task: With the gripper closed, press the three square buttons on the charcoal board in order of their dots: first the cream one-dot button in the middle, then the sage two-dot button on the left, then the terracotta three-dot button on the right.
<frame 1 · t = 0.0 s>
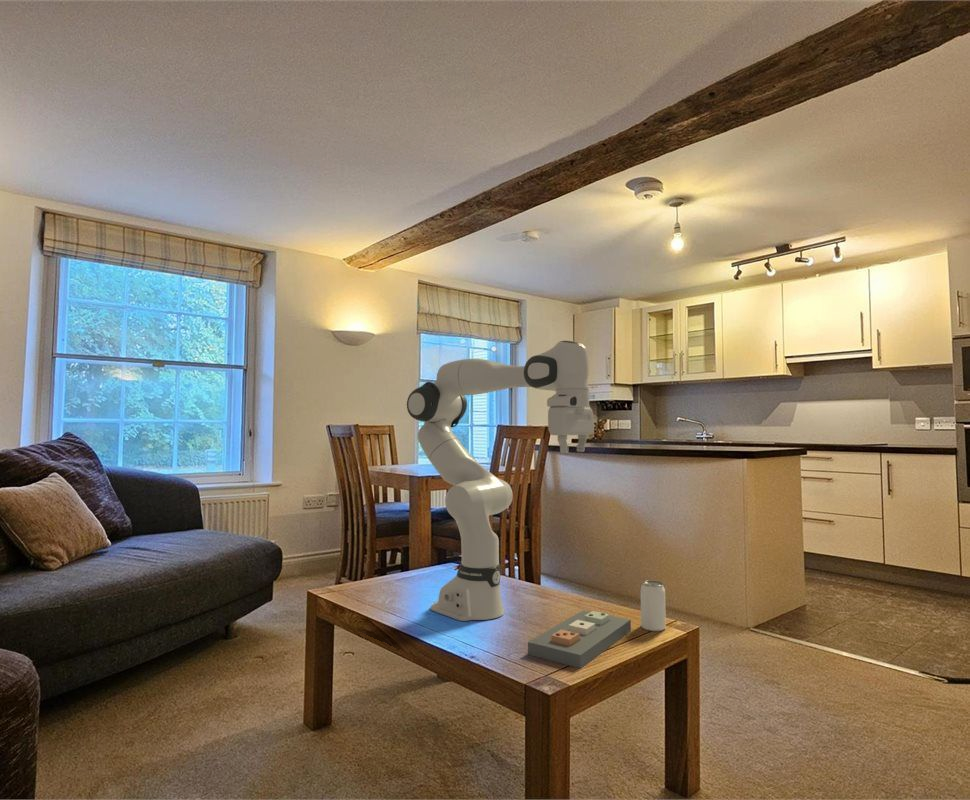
hand: (572, 452, 158), 48 cm above the table, tool pointing down, fingers open, 8 cm apart
one dot button: (582, 629, 150), point 3 cm above the table, slide at 0.0 cm
button board: (582, 642, 150), on the table
three dot button: (565, 640, 142), point 3 cm above the table, slide at 0.0 cm
can: (653, 628, 160), on the table
two dot button: (597, 620, 157), point 3 cm above the table, slide at 0.0 cm
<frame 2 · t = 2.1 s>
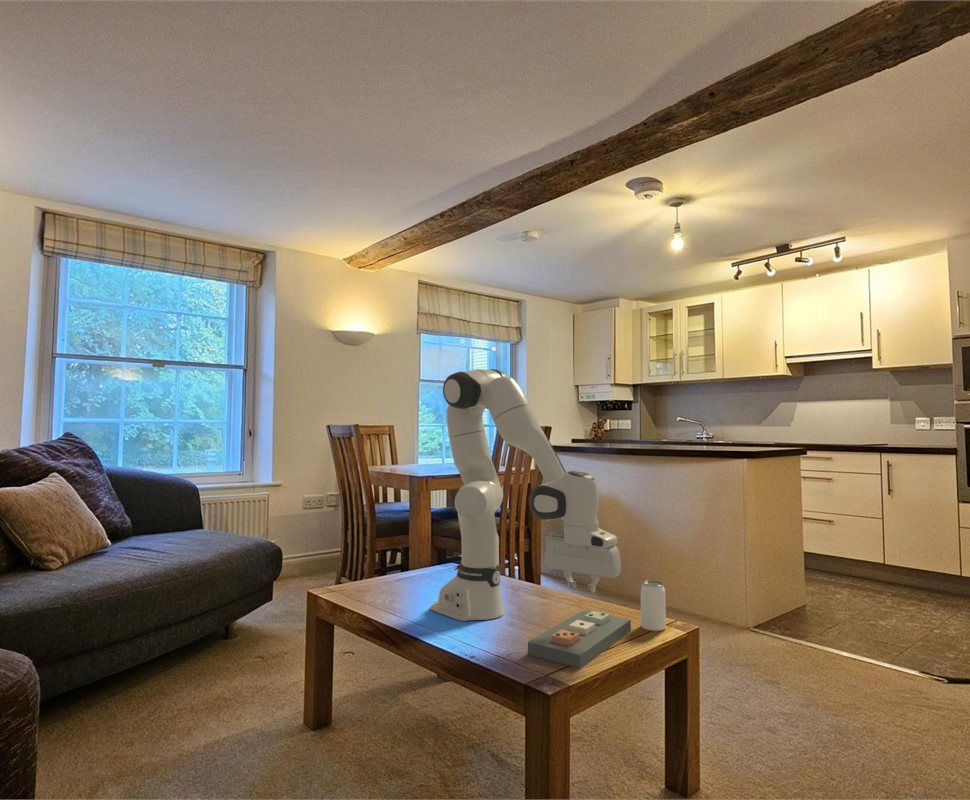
hand: (581, 589, 150), 13 cm above the table, tool pointing down, fingers open, 4 cm apart
nothing on the table moved.
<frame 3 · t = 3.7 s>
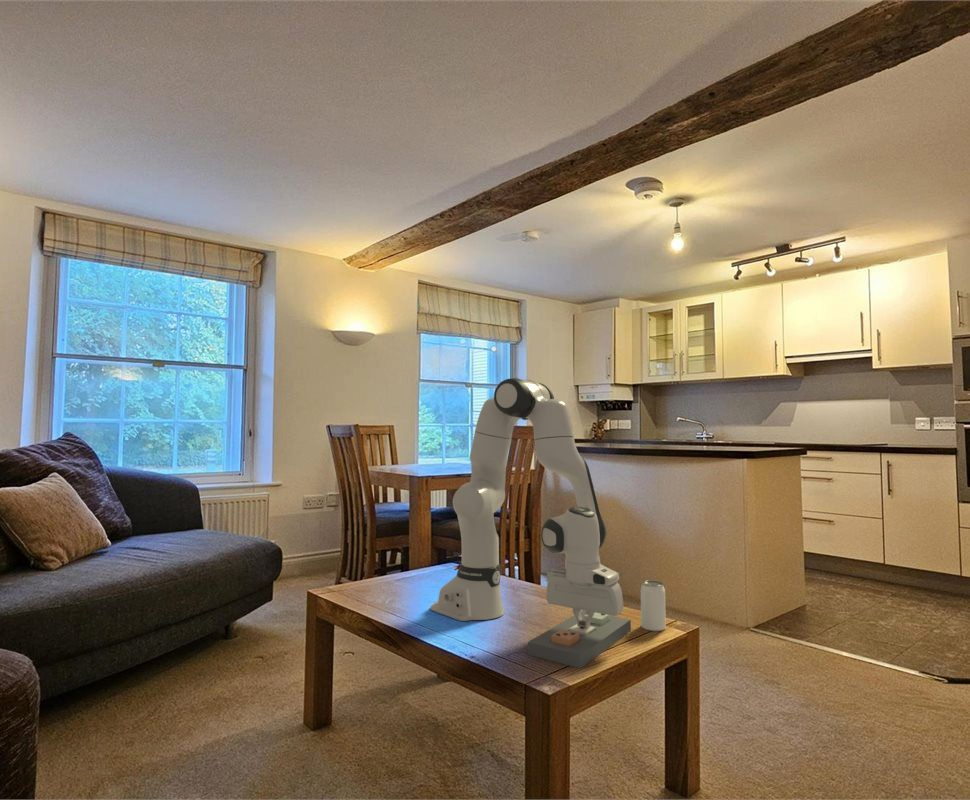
hand: (583, 626, 150), 4 cm above the table, tool pointing down, fingers closed, pressing on one dot button
one dot button: (582, 633, 150), point 2 cm above the table, slide at 1.0 cm, touching gripper
everything else where it was.
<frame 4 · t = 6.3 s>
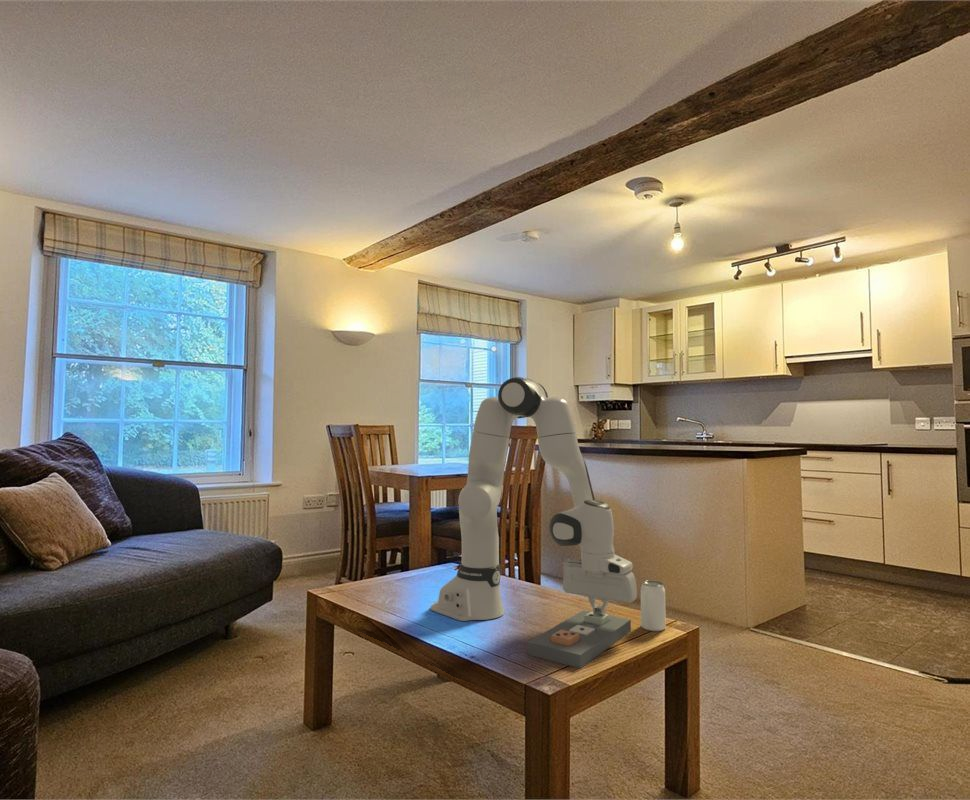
hand: (599, 613, 157), 5 cm above the table, tool pointing down, fingers closed
one dot button: (582, 635, 150), point 2 cm above the table, slide at 1.3 cm
two dot button: (597, 620, 157), point 3 cm above the table, slide at 0.0 cm, touching gripper
everything else where it was.
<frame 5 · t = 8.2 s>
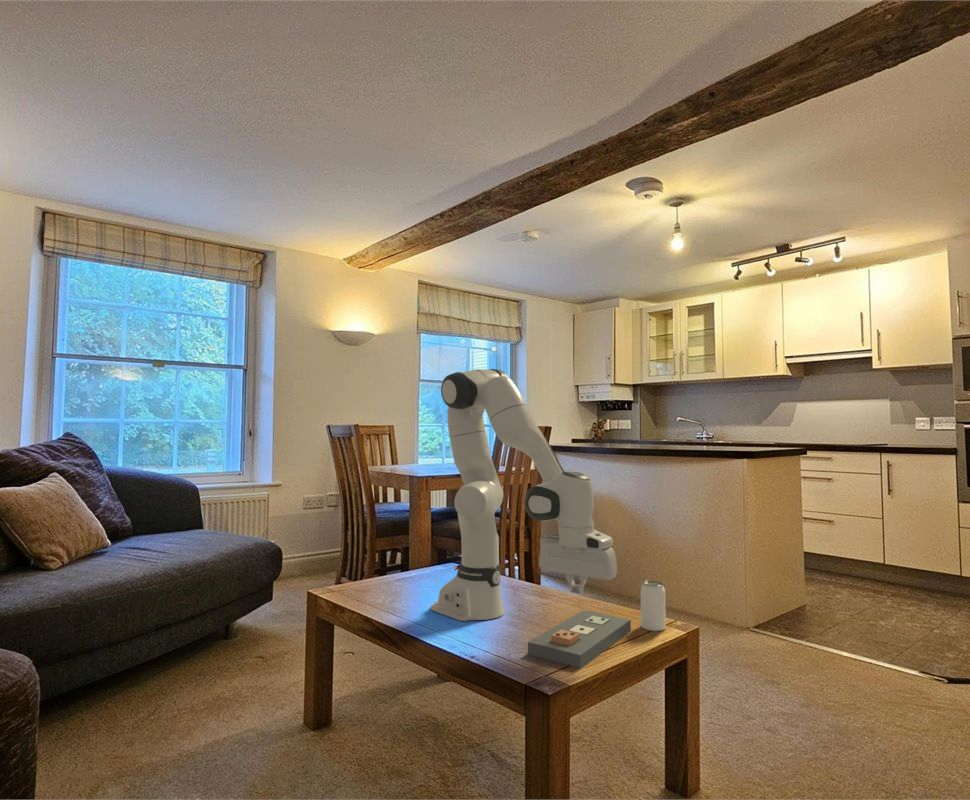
hand: (576, 592, 148), 13 cm above the table, tool pointing down, fingers closed
two dot button: (597, 625, 157), point 2 cm above the table, slide at 1.3 cm
everything else where it was.
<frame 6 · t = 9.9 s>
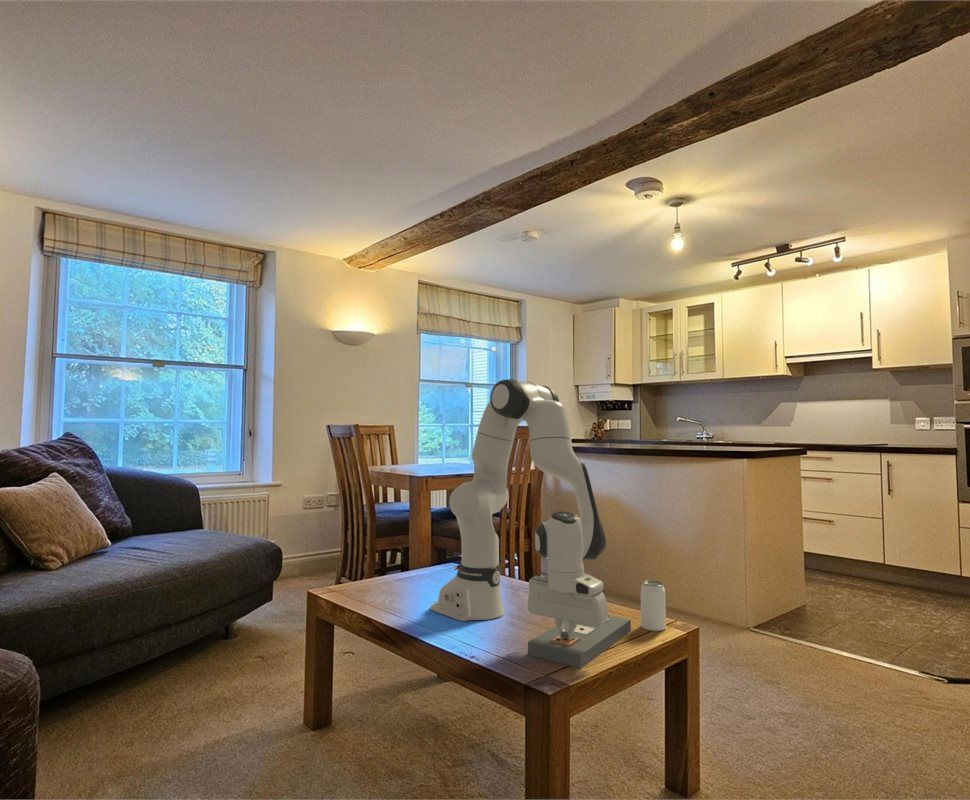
hand: (566, 638, 143), 4 cm above the table, tool pointing down, fingers closed
three dot button: (565, 645, 142), point 2 cm above the table, slide at 1.2 cm
everything else where it was.
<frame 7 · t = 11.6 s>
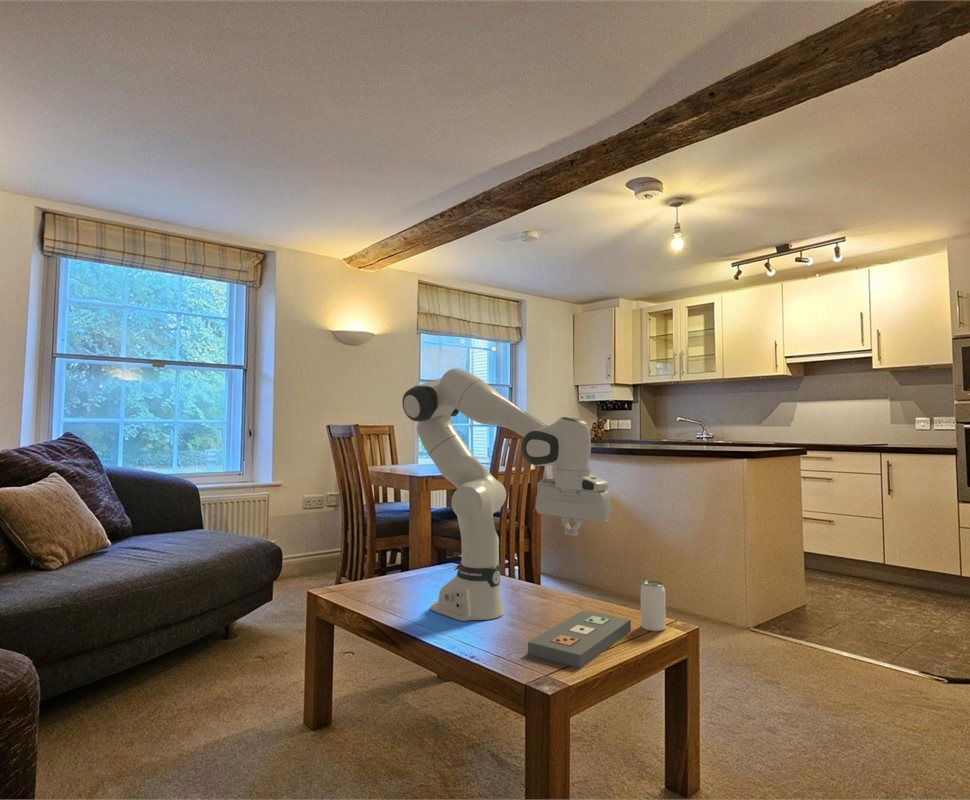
hand: (571, 535, 150), 27 cm above the table, tool pointing down, fingers closed
nothing on the table moved.
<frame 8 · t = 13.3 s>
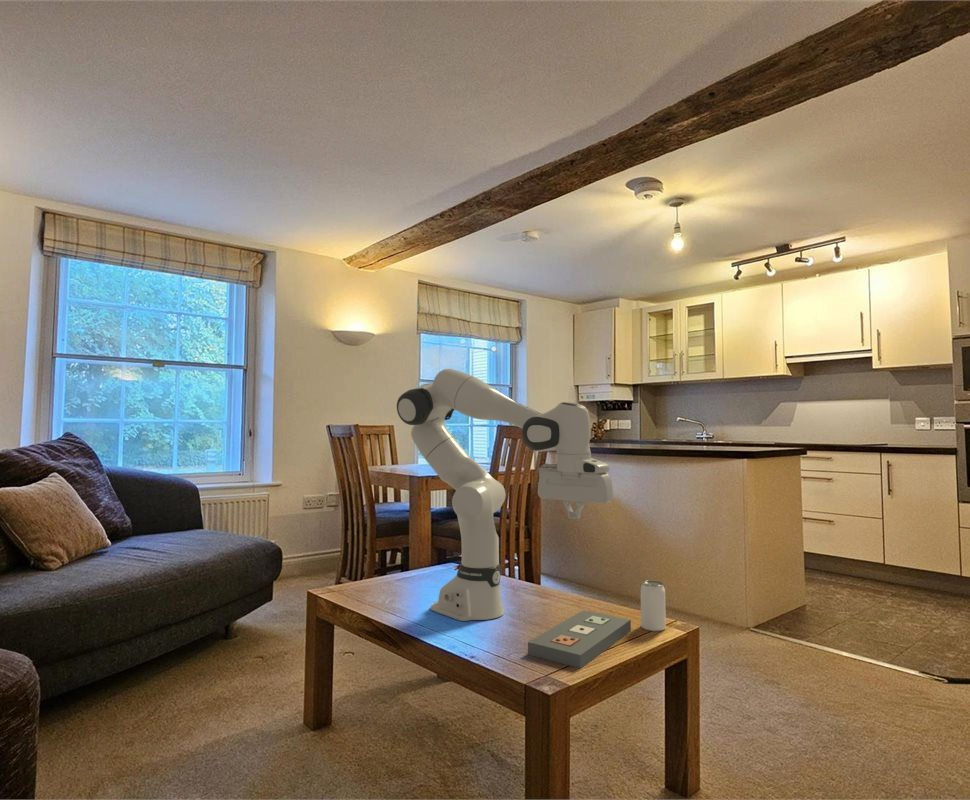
hand: (574, 518, 152), 31 cm above the table, tool pointing down, fingers closed
nothing on the table moved.
at the end: one dot button slide at 1.3 cm; two dot button slide at 1.3 cm; three dot button slide at 1.3 cm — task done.
